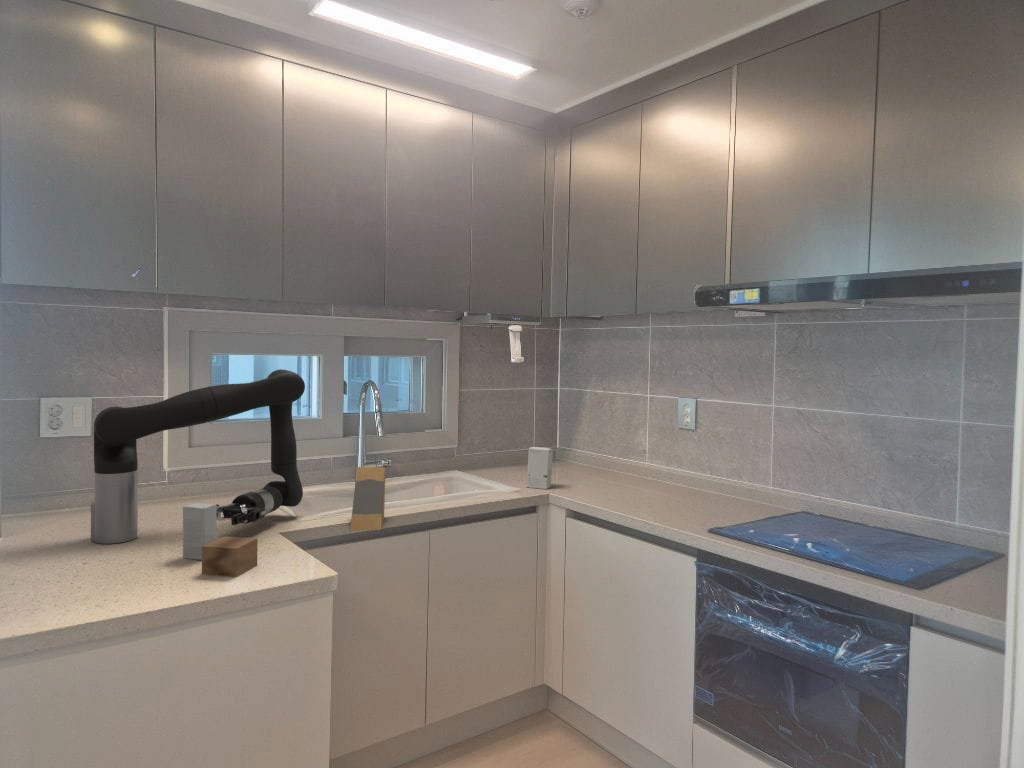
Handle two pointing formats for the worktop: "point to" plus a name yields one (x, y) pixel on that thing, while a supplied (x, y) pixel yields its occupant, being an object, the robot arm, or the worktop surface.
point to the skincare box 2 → (539, 467)
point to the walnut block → (229, 556)
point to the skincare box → (198, 528)
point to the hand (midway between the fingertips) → (216, 520)
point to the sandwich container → (368, 499)
